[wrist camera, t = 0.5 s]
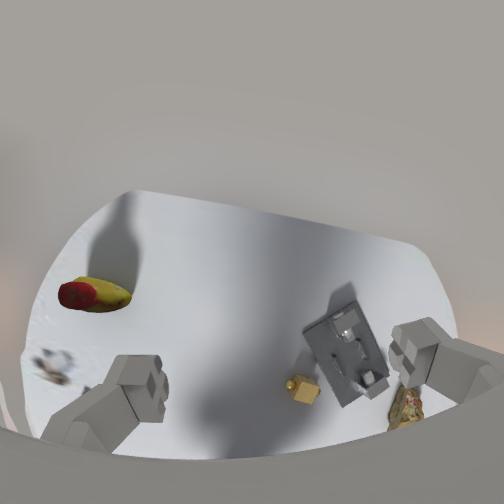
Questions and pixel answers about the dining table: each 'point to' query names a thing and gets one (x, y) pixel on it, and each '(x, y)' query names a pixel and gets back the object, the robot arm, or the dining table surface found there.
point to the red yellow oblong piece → (93, 295)
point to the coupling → (303, 389)
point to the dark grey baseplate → (348, 355)
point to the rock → (405, 408)
